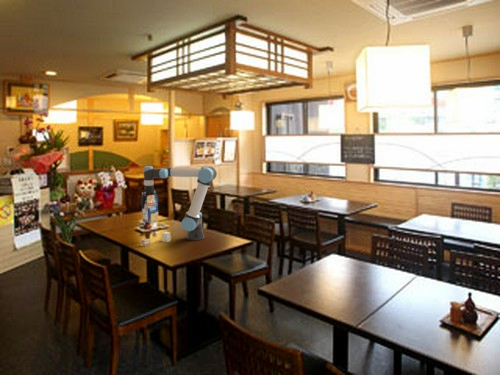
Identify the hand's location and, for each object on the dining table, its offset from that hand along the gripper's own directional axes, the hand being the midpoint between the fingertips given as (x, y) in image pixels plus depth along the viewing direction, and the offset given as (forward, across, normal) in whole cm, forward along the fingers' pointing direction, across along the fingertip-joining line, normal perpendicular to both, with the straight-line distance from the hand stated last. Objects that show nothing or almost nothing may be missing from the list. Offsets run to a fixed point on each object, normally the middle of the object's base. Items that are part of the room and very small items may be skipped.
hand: (150, 211), depth 303 cm
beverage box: (+8, 0, 0) cm, 8 cm away
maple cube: (+25, +11, +7) cm, 28 cm away
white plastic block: (+25, -8, +10) cm, 28 cm away
